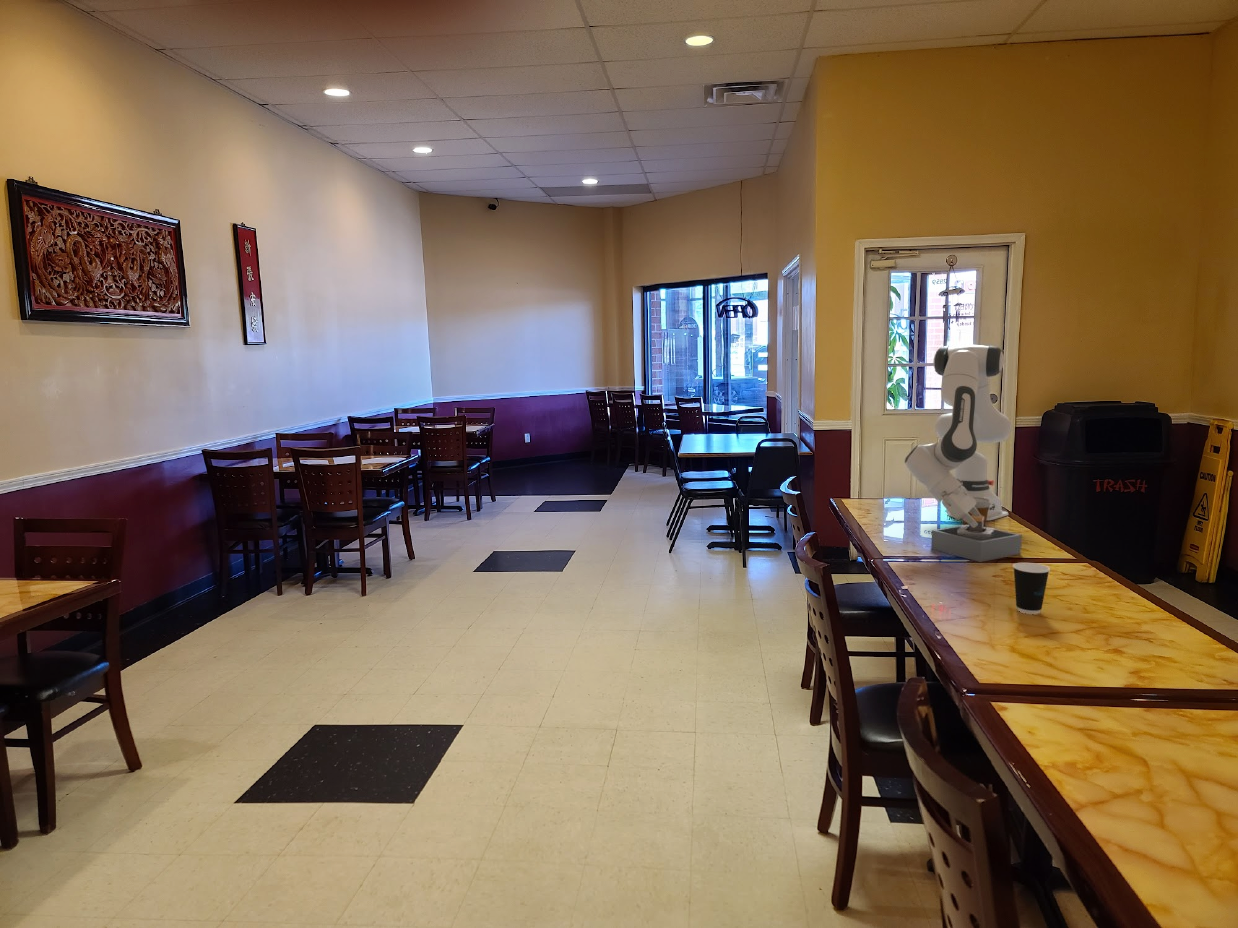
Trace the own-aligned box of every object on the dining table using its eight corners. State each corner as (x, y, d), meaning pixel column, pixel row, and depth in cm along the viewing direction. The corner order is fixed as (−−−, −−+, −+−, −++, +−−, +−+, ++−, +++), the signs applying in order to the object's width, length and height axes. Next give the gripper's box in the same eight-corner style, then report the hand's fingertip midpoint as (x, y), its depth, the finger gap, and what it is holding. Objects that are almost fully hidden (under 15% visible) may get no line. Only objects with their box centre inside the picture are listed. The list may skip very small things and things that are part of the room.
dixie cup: (1047, 618, 179) (1050, 573, 178) (1009, 613, 183) (1011, 568, 182) (1047, 608, 186) (1050, 564, 185) (1011, 603, 190) (1013, 560, 189)
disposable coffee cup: (993, 536, 257) (995, 501, 256) (965, 537, 258) (966, 502, 256) (981, 530, 267) (982, 496, 265) (953, 530, 267) (955, 496, 265)
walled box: (970, 541, 252) (971, 523, 251) (1020, 553, 236) (1021, 534, 235) (931, 548, 244) (931, 530, 243) (980, 561, 228) (981, 542, 227)
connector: (969, 539, 242) (971, 515, 241) (983, 541, 240) (984, 516, 239) (967, 542, 239) (969, 517, 238) (981, 543, 237) (982, 518, 236)
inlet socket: (961, 543, 246) (962, 524, 245) (994, 546, 241) (995, 528, 240) (956, 549, 238) (957, 530, 237) (989, 553, 233) (990, 534, 232)
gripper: (947, 488, 232) (981, 523, 228) (960, 478, 249) (991, 510, 245) (931, 501, 235) (964, 536, 231) (945, 490, 252) (976, 523, 248)
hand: (978, 523), depth 238 cm, fingers open, 8 cm apart
